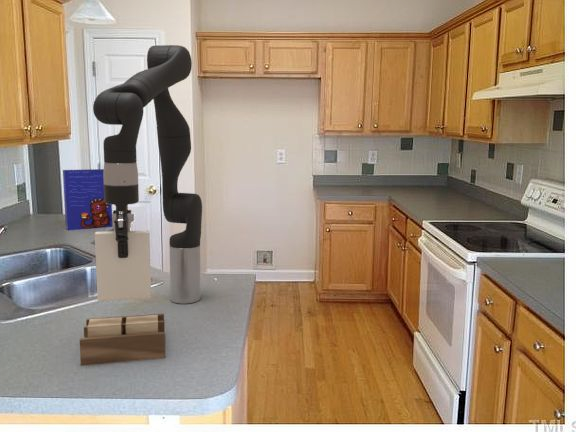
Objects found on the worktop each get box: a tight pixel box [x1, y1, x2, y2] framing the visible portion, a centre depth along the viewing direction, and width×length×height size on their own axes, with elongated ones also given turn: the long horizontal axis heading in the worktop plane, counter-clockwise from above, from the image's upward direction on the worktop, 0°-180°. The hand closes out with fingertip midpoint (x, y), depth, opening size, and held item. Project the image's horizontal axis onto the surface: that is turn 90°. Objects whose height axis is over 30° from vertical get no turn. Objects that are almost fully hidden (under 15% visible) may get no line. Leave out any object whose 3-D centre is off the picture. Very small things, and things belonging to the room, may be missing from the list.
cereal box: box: [62, 168, 114, 231], centre depth 259 cm, size 22×6×30 cm, turn 122°
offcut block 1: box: [87, 316, 123, 338], centre depth 115 cm, size 4×7×8 cm, turn 105°
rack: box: [79, 313, 166, 366], centre depth 118 cm, size 13×18×7 cm
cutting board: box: [94, 229, 152, 302], centre depth 119 cm, size 2×12×16 cm, turn 105°
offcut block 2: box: [126, 314, 158, 335], centre depth 117 cm, size 4×7×8 cm, turn 105°
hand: (123, 255), depth 118 cm, fingers closed on cutting board, 2 cm apart
